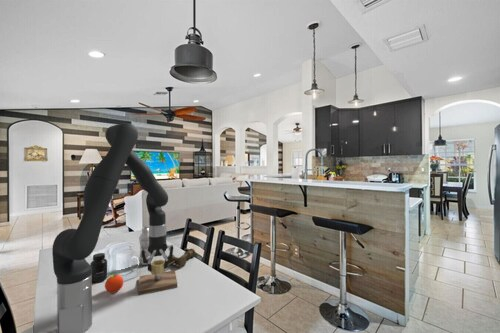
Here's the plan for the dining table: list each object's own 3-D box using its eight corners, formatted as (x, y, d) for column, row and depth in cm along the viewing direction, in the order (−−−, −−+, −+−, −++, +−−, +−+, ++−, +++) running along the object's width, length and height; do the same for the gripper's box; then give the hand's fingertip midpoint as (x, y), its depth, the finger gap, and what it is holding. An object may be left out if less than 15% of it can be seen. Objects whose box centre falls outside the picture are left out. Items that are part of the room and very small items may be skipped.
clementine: (98, 295, 97) (98, 278, 97) (110, 286, 104) (110, 270, 104) (115, 296, 96) (115, 279, 96) (127, 287, 103) (127, 271, 102)
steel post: (161, 280, 106) (161, 266, 106) (154, 282, 105) (154, 267, 105) (161, 277, 109) (161, 264, 108) (154, 278, 107) (154, 265, 107)
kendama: (199, 258, 135) (174, 272, 117) (186, 256, 139) (160, 269, 121) (199, 248, 135) (174, 260, 117) (186, 246, 139) (160, 257, 121)
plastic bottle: (139, 262, 128) (139, 227, 128) (152, 260, 131) (152, 225, 130) (138, 267, 122) (138, 230, 122) (152, 265, 125) (151, 228, 124)
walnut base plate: (177, 287, 103) (177, 283, 103) (137, 294, 97) (137, 291, 97) (174, 273, 116) (174, 270, 116) (139, 279, 110) (139, 276, 110)
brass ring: (165, 273, 105) (165, 264, 105) (150, 275, 103) (150, 266, 103) (164, 267, 111) (164, 259, 111) (151, 269, 108) (150, 261, 108)
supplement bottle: (98, 284, 106) (98, 258, 105) (86, 282, 107) (86, 257, 107) (110, 276, 112) (110, 252, 112) (98, 275, 114) (98, 251, 113)
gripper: (139, 238, 100) (140, 276, 100) (174, 234, 106) (174, 270, 106) (140, 233, 107) (141, 269, 107) (173, 229, 113) (173, 263, 113)
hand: (158, 269), depth 107 cm, fingers closed on brass ring, 6 cm apart
